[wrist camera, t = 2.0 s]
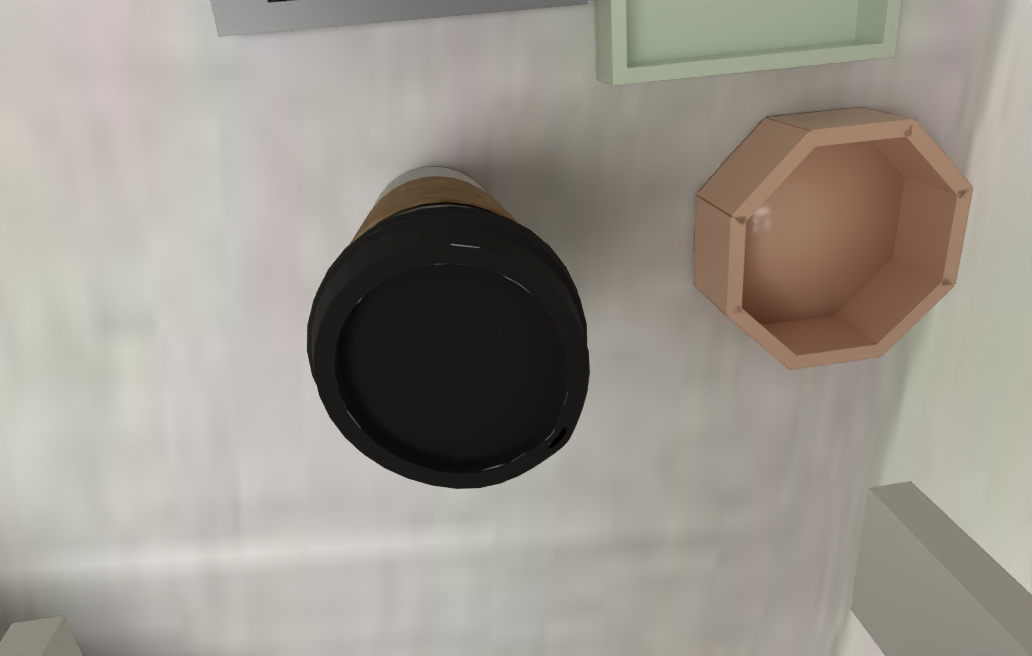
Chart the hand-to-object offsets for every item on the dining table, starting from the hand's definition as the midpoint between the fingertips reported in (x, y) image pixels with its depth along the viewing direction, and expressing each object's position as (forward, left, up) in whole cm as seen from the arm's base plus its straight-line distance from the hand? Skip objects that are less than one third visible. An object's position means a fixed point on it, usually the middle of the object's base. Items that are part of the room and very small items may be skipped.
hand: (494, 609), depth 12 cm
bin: (+18, -2, -23) cm, 30 cm away
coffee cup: (0, 0, -24) cm, 24 cm away
